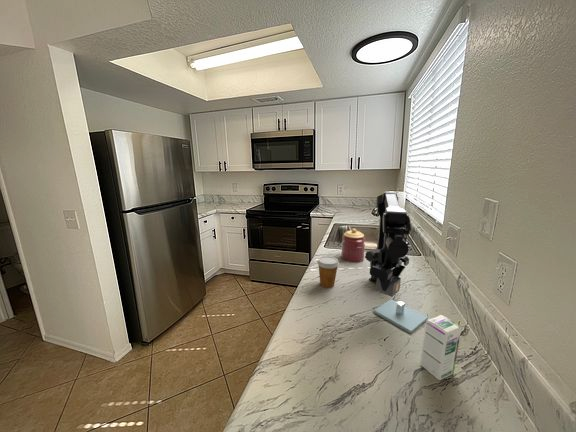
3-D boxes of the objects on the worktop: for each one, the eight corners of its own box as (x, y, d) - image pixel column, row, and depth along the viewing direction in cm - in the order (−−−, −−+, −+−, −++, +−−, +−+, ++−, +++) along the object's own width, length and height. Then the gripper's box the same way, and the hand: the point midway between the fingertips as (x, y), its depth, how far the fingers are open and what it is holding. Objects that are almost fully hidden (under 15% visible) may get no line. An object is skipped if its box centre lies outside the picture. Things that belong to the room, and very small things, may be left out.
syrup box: (439, 381, 61) (448, 333, 58) (419, 364, 67) (426, 318, 63) (454, 373, 64) (463, 326, 60) (433, 357, 69) (440, 313, 66)
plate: (373, 312, 89) (373, 309, 89) (391, 301, 96) (391, 299, 96) (410, 333, 78) (411, 330, 78) (427, 319, 85) (428, 317, 85)
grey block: (375, 290, 86) (376, 277, 85) (383, 284, 90) (384, 272, 89) (392, 297, 82) (394, 284, 81) (399, 290, 86) (401, 278, 85)
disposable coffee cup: (339, 281, 112) (341, 257, 109) (334, 291, 103) (336, 266, 101) (320, 277, 116) (321, 254, 113) (313, 286, 107) (314, 262, 105)
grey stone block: (395, 312, 87) (396, 303, 87) (398, 310, 89) (400, 300, 88) (400, 315, 86) (401, 305, 85) (403, 312, 87) (405, 303, 87)
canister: (360, 264, 131) (363, 233, 127) (337, 259, 137) (339, 229, 133) (366, 256, 142) (368, 227, 138) (344, 252, 148) (346, 224, 144)
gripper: (382, 235, 94) (378, 271, 98) (357, 247, 82) (354, 288, 85) (412, 242, 86) (407, 281, 90) (389, 256, 74) (384, 301, 77)
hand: (387, 287), depth 86 cm, fingers closed on grey block, 6 cm apart
